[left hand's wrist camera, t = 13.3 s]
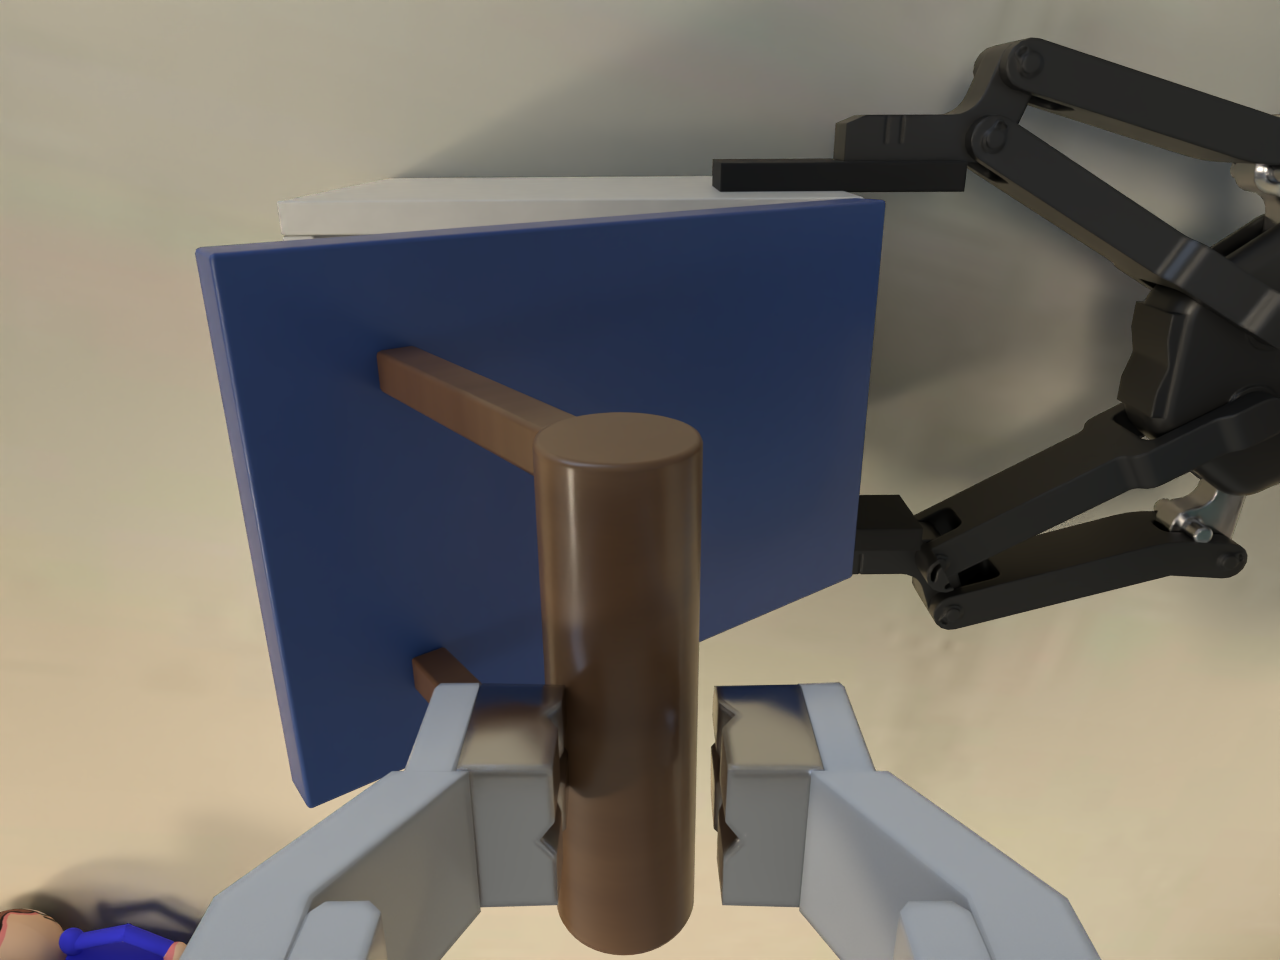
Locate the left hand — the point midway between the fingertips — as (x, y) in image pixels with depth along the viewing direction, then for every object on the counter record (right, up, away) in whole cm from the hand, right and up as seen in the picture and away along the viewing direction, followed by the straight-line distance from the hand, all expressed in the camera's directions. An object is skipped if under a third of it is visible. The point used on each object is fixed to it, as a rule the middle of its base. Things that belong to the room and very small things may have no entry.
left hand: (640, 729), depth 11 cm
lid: (-1, +4, +9) cm, 9 cm away
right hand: (+2, +7, +16) cm, 18 cm away
